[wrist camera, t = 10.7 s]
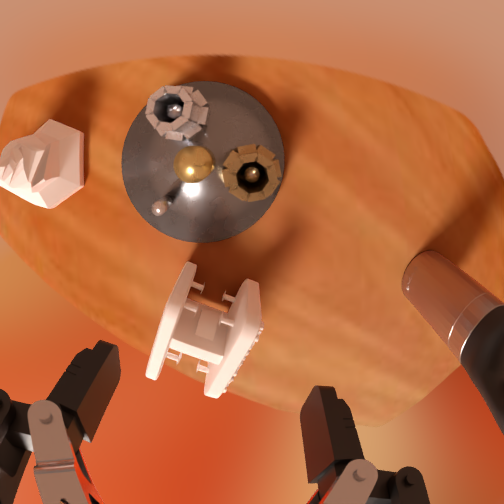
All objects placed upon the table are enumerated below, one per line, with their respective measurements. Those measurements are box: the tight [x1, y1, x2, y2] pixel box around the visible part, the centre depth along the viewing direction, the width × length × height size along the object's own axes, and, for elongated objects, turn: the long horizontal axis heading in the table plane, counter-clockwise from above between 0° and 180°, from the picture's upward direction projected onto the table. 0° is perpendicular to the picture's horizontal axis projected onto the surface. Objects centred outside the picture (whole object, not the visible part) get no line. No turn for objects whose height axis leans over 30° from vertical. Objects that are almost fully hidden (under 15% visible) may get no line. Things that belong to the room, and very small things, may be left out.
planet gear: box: [145, 85, 210, 141], centre depth 26 cm, size 6×6×6 cm
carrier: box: [122, 81, 284, 243], centre depth 30 cm, size 20×20×6 cm
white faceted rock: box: [0, 119, 84, 209], centre depth 25 cm, size 12×15×14 cm
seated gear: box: [222, 144, 282, 202], centre depth 29 cm, size 6×6×6 cm
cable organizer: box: [146, 261, 264, 398], centre depth 35 cm, size 15×11×12 cm
